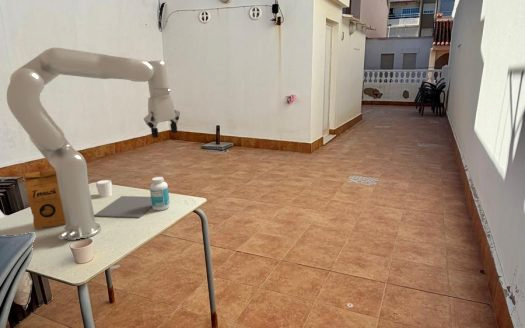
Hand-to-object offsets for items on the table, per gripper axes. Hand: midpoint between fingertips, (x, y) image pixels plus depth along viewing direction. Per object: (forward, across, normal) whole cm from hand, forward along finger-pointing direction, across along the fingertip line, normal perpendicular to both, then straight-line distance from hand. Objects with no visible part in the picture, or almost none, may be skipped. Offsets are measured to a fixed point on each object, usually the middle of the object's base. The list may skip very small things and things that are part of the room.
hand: (165, 135), depth 141 cm
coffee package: (+31, +39, -27) cm, 56 cm away
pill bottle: (+32, +5, -4) cm, 32 cm away
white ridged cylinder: (+31, +9, -40) cm, 51 cm away
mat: (+31, +12, -16) cm, 37 cm away
